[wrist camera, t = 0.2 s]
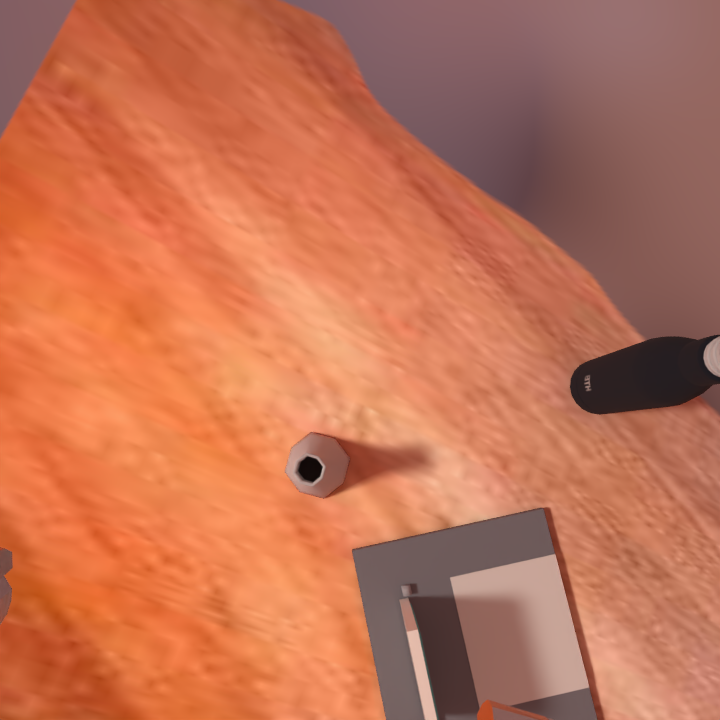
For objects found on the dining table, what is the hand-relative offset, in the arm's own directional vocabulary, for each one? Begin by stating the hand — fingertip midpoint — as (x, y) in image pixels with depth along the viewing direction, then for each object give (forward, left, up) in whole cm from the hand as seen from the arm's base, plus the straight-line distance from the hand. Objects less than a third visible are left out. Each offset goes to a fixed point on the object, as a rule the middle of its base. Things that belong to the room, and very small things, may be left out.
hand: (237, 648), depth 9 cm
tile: (-21, -4, -52) cm, 57 cm away
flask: (+1, +3, -54) cm, 54 cm away
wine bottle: (+3, -31, -54) cm, 62 cm away
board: (-21, -10, -54) cm, 58 cm away
